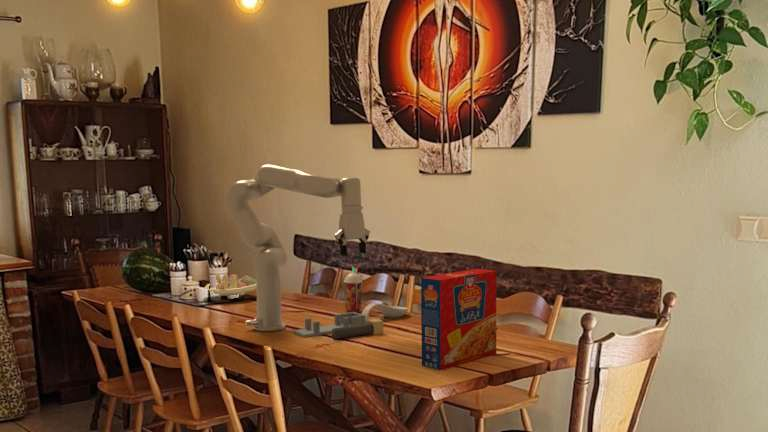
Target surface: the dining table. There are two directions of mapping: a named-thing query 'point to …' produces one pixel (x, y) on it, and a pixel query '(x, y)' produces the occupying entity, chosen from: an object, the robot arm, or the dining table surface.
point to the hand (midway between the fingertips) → (353, 254)
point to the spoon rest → (385, 310)
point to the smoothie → (353, 292)
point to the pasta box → (458, 317)
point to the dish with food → (233, 285)
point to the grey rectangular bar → (359, 329)
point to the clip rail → (341, 321)
